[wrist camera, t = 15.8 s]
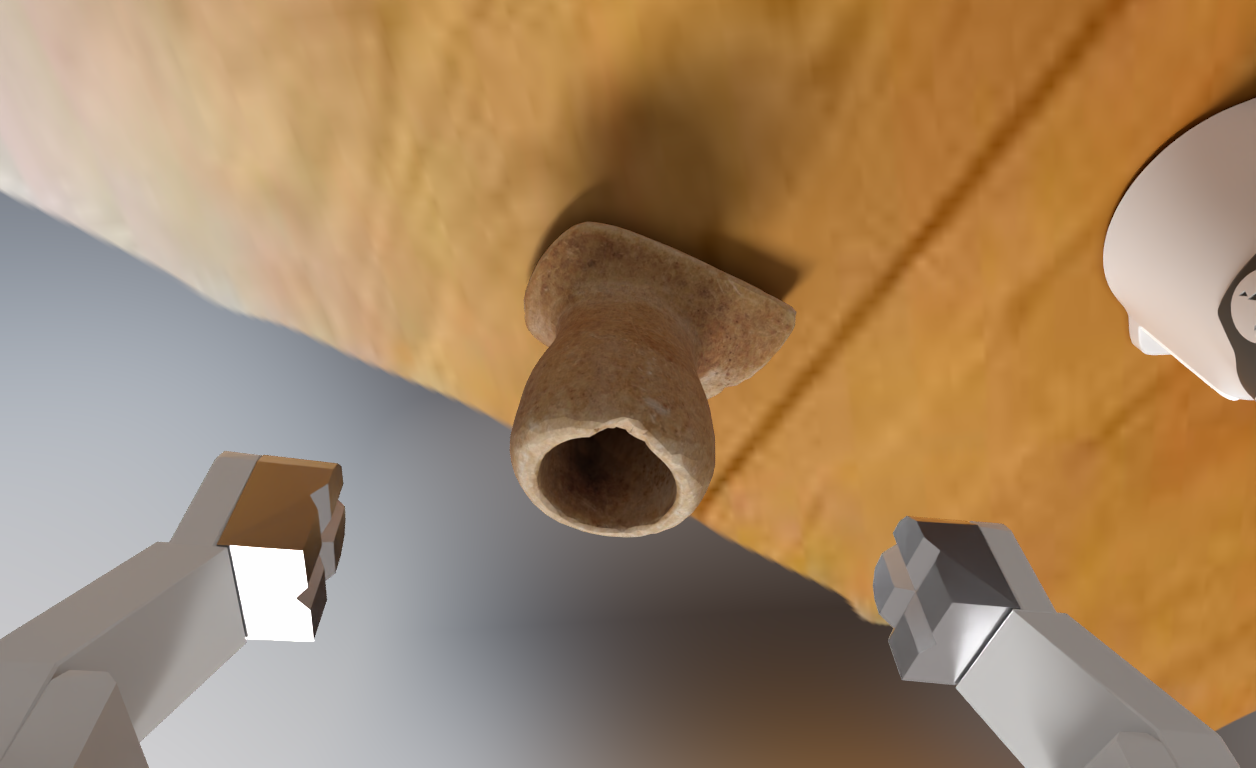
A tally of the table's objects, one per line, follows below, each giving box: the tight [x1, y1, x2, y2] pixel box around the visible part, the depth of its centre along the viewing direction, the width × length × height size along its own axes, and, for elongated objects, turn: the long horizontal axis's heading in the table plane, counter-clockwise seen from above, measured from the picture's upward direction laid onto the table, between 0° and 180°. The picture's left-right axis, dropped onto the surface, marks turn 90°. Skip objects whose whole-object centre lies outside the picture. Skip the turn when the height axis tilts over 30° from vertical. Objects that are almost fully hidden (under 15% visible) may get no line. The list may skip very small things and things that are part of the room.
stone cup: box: [510, 221, 796, 537], centre depth 44 cm, size 15×12×15 cm
